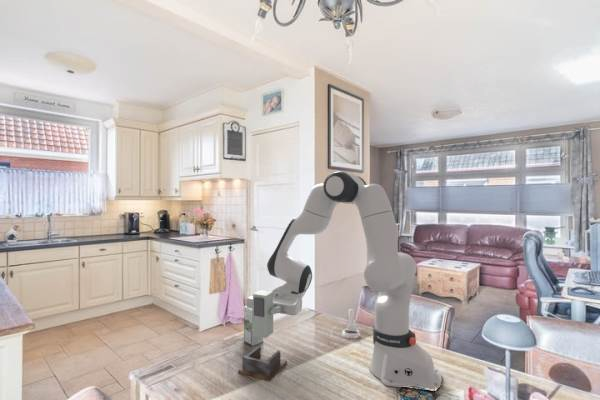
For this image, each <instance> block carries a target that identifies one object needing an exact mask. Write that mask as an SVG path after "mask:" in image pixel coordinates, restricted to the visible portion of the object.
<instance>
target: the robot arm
mask: <svg viewBox="0 0 600 400" xmlns="http://www.w3.org/2000/svg"><path fill="white" fill-rule="evenodd" d="M340 203H342V204H352V205H353V204H354V205H355V206H356V207H357V210H358V212H359V216H360V220H361V221H360V222H361V224H362V229H363V232H364V237H365V242H366V266H365V269H364V271H363V278H364V282H365V284H366V286H367V287H368V288H369V289H370V290H371V291H374V292H376V293H378V295H377V298H376V300H375V302H374V303H375V304H374V326H373V328H372V341H373V349H372V358H371V362H370V364H369V370H370V372H371V374H372V375H373V376H374V377H376V378H377V379H379V380H380V381H381V382H382V384H383V385H385V386H388V387H394V388H401V386H408V385H410V386H417V387H424V388H429V389H434V388H435V387H437V388H438V387H439V386H440V385H441V386H442V384H441V382H442V383H443V381H442V380H443V379H442V377H443V376H442V373H441V371H440V370H439V369H438V368H437V367H436V366H434V362H433V358H432V356H431V355H430V353H429V352H428V351H426V350H425V349H424V348H423V347H421V346H420V345H419V344H418V343H417V339H416V332H415V330H413V331H412V330H410V305H411V298H412V294H413V293H412V292H413V286H414V280H415V276H416V273H417V268H418V266H417V262H416V260H415V258H413V256H412V255H410V254H409V253H405V252H399V248H398V246H399V245H398V242H399V236H400V235H399V234H400V233H399V229H398V226H397V221H396V218H395V215H394V211H393V208H392V205H391V202H390V199H389V196H388V195H387V193H386V191H385V189H384V187H383V186H382V185H380V184H378V183H366V181H365V180H364V178H362V177H360V176H358V175H355V174H353V173H351V172H350V173H349V172H344V171H335V172H332V173H330V174H328V176H327V177H326V178H325V179H324V182H323V183H318V184H316V185H314V186H313V187H312V189H311V190H310V192H309V195H308V197H307V199H306V201H305V204H304V207H303V210H302V212H301V213H300V214H299V216H297V217H294V218H293V219H291V220H290V222H289V223H288V225H287V227H286V229H285V231H284V232H283V234H282V236H281V238H280V240H279V242H278V243H277V245H276V248H275V250H274V251H273V253H272V254H271V256H270V257H269V259H268V261H267V264H266V269H267V272H268V274H269V275H270V276H272V277H274V278H277V279H280V280H282V281H284V282H285V283H284V284H282V285H280V286H278V287H276V288H274V289H273V290H272V292H273V308H270V309H269V310H268V312H269V313H268V314H269V315H273V316H274V315H275V314H276V315H277V314H282V315H287V316H297V315H298V314H300V312H302V310H303V298H304V297H305V295H306V292H307V290H308V289H309V287H310V285H311V283H312V280H313V271H312V269H311V267H310V265H308V264H307V263H304V262H302V261H301V260H299V259H296V258H294V257H291V256H290V255H288V251H289V250H290V247H291V246H292V244H293V242H294V240H295V239H296V237H297V236H299V235H318V234H321V233H323V232H325V230H326V229H328V227H329V224H330V222H331V219H332V215H333V214H334V211H335V210H334V209H335V207H336V206H337V205H338V204H340ZM245 306H247V308H252V312H253V294H252V295H249V296H247V297H246V299H245Z"/></svg>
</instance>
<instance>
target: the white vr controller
mask: <svg viewBox="0 0 600 400" xmlns="http://www.w3.org/2000/svg"><path fill="white" fill-rule="evenodd" d="M358 328H359V326H358V324H357V323H355V311H354V309H351V308H349V309H348V325H347V328H344V329H343V330H342V333H341V335H342V337H344V338H346V339H349V338H351V339H352V338H355V339H359V338H360V337H361V333H360V331H359V330H358ZM348 332H353V333H348ZM359 336H360V337H359ZM358 337H359V338H358ZM351 339H350V340H351Z"/></svg>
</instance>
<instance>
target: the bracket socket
mask: <svg viewBox="0 0 600 400" xmlns="http://www.w3.org/2000/svg"><path fill="white" fill-rule="evenodd" d="M261 351H262V349H261V346H259V345H258V346H257V347H255V348H253V350H251V351H250V352H249V353H248V354H246V355H243V356H242V366H241V367H240V368H238V370H237V372H238V374H241V375H244V376H248V377H251V378H255V379H258V380H263V381H265V382H271V381H272V380H273V379H274V378H275V377H276V376H277V375H278V374H279V373H280V372H281V371H282V369H284V367H285V366H286V365H288V361H287V360H285V359H281V350H277V351H276V352H274V353H273V354H272V355H271V356H269V355H265V354H262V352H261Z"/></svg>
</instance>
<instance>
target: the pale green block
mask: <svg viewBox="0 0 600 400" xmlns="http://www.w3.org/2000/svg"><path fill="white" fill-rule="evenodd" d="M272 291H273V290H272ZM272 291H269V290H263V289H259V290H258V291H255V292H254V293H253V294H252V295H253V335H254V336H258V337H263V339H267V338H268V337H269V336H271V335H272V334H274V315H269V314H268V313H269V312H268V310H269V309H270V308H273V292H272Z"/></svg>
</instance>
